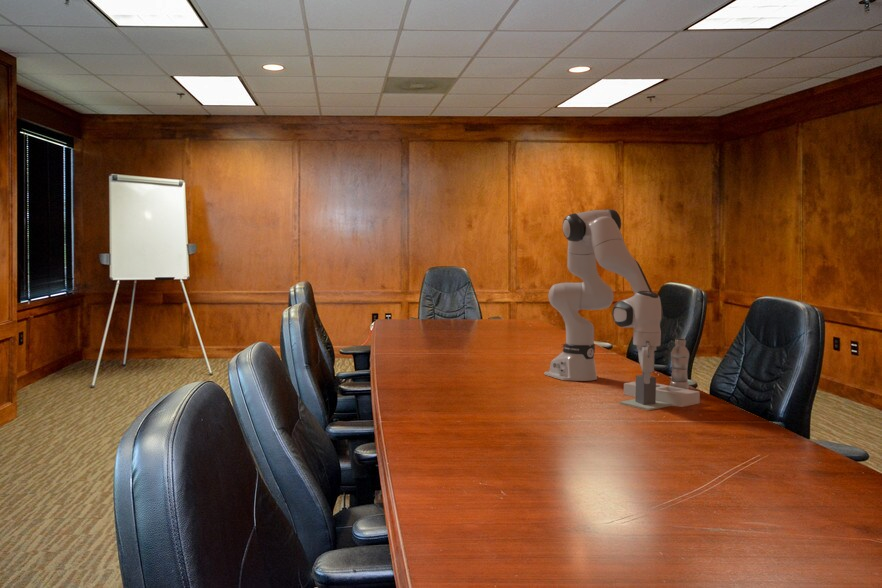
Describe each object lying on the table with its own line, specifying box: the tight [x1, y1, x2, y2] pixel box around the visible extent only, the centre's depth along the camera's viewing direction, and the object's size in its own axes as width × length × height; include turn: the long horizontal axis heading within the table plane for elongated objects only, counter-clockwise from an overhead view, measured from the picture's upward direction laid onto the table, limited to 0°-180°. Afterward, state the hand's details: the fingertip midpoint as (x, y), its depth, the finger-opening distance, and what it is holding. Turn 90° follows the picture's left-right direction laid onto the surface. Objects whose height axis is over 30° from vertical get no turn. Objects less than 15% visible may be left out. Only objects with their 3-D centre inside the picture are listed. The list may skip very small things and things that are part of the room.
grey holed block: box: [623, 381, 701, 408], centre depth 232 cm, size 24×10×4 cm, turn 35°
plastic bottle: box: [669, 338, 690, 390], centre depth 239 cm, size 6×7×20 cm
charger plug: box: [634, 374, 657, 405], centre depth 222 cm, size 5×4×9 cm
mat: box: [619, 398, 673, 411], centre depth 222 cm, size 12×12×1 cm
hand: (645, 380), depth 222 cm, fingers open, 8 cm apart
